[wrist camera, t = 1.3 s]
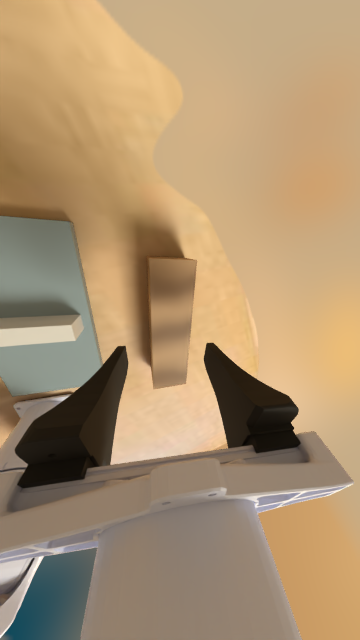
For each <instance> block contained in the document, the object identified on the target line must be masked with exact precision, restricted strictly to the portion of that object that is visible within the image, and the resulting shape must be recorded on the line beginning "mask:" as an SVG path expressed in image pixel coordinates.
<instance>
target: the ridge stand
mask: <svg viewBox="0 0 360 640" xmlns="http://www.w3.org/2000/svg"><path fill="white" fill-rule="evenodd" d="M102 365H103V363H102V358H101V353H100V348H99V344H98V339H97V334H96V330H95V325H94V320H93V316H92V311H91V306H90V301H89V297H88V292H87V287H86V283H85V278H84V273H83V269H82V264H81V259H80V255H79V250H78V245H77V240H76V236H75V231H74V226H73V223H71V222H68V221H56V220H44V219H32V218H20V217H8V216H0V377H1V378H2V380H3V382H4V383H5V385H6V387H7V388H8V390H9V392H10V393H11V395H12V397H14V396H20V395H27V394H34V393H41V392H48V391H54V390H61V389H68V388H75V387H81V386H82V385H83V384H85V383H86V382H87V381H88V380H89V379H90V378H91V377H92V376H93V375H94V374H95V373H96V372H97V371H98V370H99V369H100V368H101V366H102Z"/></svg>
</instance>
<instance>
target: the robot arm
mask: <svg viewBox="0 0 360 640" xmlns="http://www.w3.org/2000/svg"><path fill="white" fill-rule="evenodd" d="M204 363H205V367H206V370H207V373H208V376H209V379H210V381H211V384H212V386H213V389H214V392H215V395H216V398H217V401H218V405H219V409H220V413H221V417H222V421H223V425H224V430H225V434H226V439H227V444H228V449H221V450H214V451H207V452H200V453H193V454H185V455H178V456H171V457H164V458H157V459H150V460H143V461H136V462H129V463H122V464H115V465H110V462H111V454H112V446H113V439H114V432H115V425H116V419H117V413H118V407H119V402H120V398H121V394H122V390H123V387H124V383H125V379H126V375H127V369H128V358H127V352H126V346H118V347H117V348H116V349H115V351H114V352H113V353H112V354H111V356H110V357H109V358H108V359H107V361H106V362H105V363H104V364H103V365H102V366H101V368H100V369H99V370H98V371H97V372H96V373H95V374H94V375H93V376H92V377H91V378H90V379H89V380H88V381H87V382H86V383H85V384H83V385H82V386H81V387H80V388H79V389H78V390H76V391H75V392H74V393H73V394H67V395H61V396H54V397H48V398H42V399H35V400H29V401H22V402H17V403H15V404H14V405H13V407H14V409H15V410H16V412H17V413H18V415H19V417H20V418H21V419H20V421H19V422H18V423H17V425H16V426H15V428H14V429H13V431H12V432H11V434H10V435H9V436H8V438H7V439H6V441H5V442H4V444H3V445H2V446H1V448H0V638H1V636H2V635H3V634H4V633H5V632H6V630H7V629H8V628H9V627H10V625H11V624H12V622H13V621H14V619H15V616H16V613H17V611H18V609H19V608H20V606H21V603H22V601H23V598H24V596H25V594H26V591H27V589H28V587H29V585H30V582H31V580H32V578H33V576H34V574H35V572H36V569H37V567H38V566H39V564H40V562H41V560H42V559H43V557H44V556H48V555H54V554H60V553H66V552H71V551H77V550H83V549H89V548H95V547H97V553H96V558H95V564H94V568H93V574H92V579H91V585H90V590H89V595H88V600H87V606H86V611H85V616H84V622H83V627H82V633H81V637H80V640H302V639H301V636H300V633H299V630H298V628H297V625H296V622H295V619H294V616H293V613H292V610H291V608H290V605H289V602H288V599H287V596H286V593H285V590H284V588H283V585H282V582H281V579H280V576H279V573H278V571H277V568H276V565H275V562H274V559H273V556H272V553H271V551H270V548H269V545H268V542H267V539H266V536H265V534H264V531H263V528H262V525H261V522H260V519H259V516H258V514H257V513H259V512H263V511H267V510H270V509H274V508H278V507H282V506H286V505H290V504H294V503H298V502H302V501H306V500H311V499H315V498H320V497H324V496H329V495H331V494H333V493H335V492H337V491H340V490H342V489H344V488H346V487H348V486H350V485H353V484H354V481H353V480H352V479H351V477H350V476H349V475H348V474H347V472H346V471H345V470H344V468H343V467H342V466H341V464H340V463H339V462H338V461H337V459H336V458H335V457H334V455H333V454H332V453H331V452H330V450H329V449H328V448H327V446H326V445H325V444H324V443H323V441H322V440H321V439H320V438H319V436H318V435H317V434H316V432H314V431H313V432H304V433H299V434H297V435H295V433H294V432H293V429H294V427H293V426H292V424H291V422H292V420H293V419H294V418H295V417H296V416H297V414H298V407H297V406H296V405H295V404H294V402H293V401H292V400H291V398H290V397H289V396H287V395H286V394H283V393H281V392H279V391H277V390H275V389H273V388H271V387H269V386H267V385H266V384H264V383H262V382H260V381H259V380H257V379H256V378H254V377H252V376H251V375H249V374H248V373H247V372H245V371H244V370H243V369H241V368H240V367H239V366H237V365H236V364H235V363H234V362H233V361H232V360H230V359H229V358H228V357H227V356H226V355H225V354H224V353H223V352H222V351H221V350H220V349H219V348H218V347H217V346H216V345H215V344H214V343H207V345H206V350H205V355H204Z"/></svg>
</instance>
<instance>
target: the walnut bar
mask: <svg viewBox="0 0 360 640" xmlns="http://www.w3.org/2000/svg"><path fill="white" fill-rule="evenodd" d="M196 266H197V260H193V259H188V258H173V257H151V256H147V273H148V299H149V325H150V351H151V371H152V380H153V389H158V388H164V387H170V386H176V385H182V384H186V377H187V366H188V355H189V344H190V332H191V321H192V310H193V299H194V288H195V277H196Z"/></svg>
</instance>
